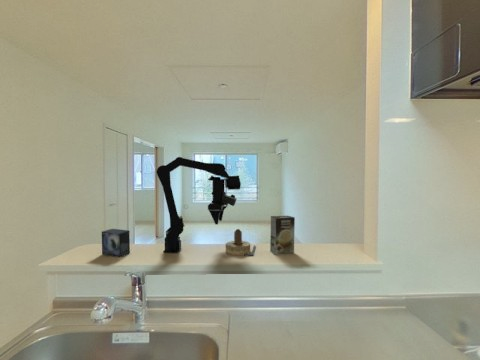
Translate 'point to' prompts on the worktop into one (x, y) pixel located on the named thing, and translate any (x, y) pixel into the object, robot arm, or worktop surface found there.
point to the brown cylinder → (237, 237)
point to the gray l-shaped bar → (252, 252)
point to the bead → (238, 248)
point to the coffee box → (282, 234)
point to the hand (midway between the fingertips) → (218, 222)
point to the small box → (115, 242)
